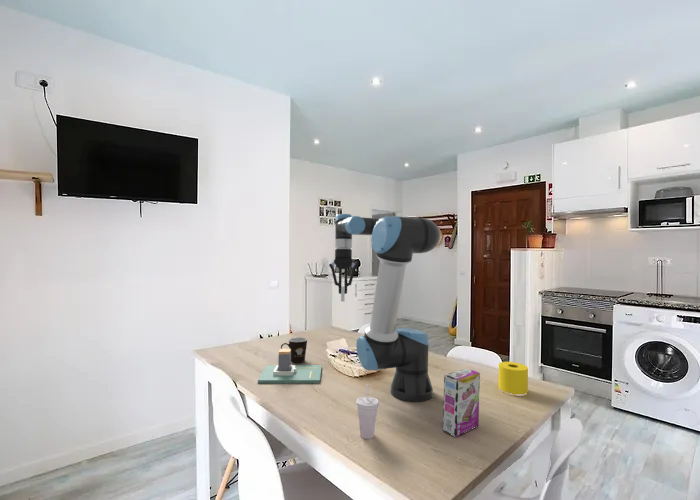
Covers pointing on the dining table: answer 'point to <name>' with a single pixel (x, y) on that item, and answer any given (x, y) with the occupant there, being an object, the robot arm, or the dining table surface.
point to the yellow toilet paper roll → (513, 377)
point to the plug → (284, 360)
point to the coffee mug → (297, 349)
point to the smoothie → (367, 415)
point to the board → (291, 374)
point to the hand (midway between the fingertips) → (342, 300)
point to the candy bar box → (461, 401)
